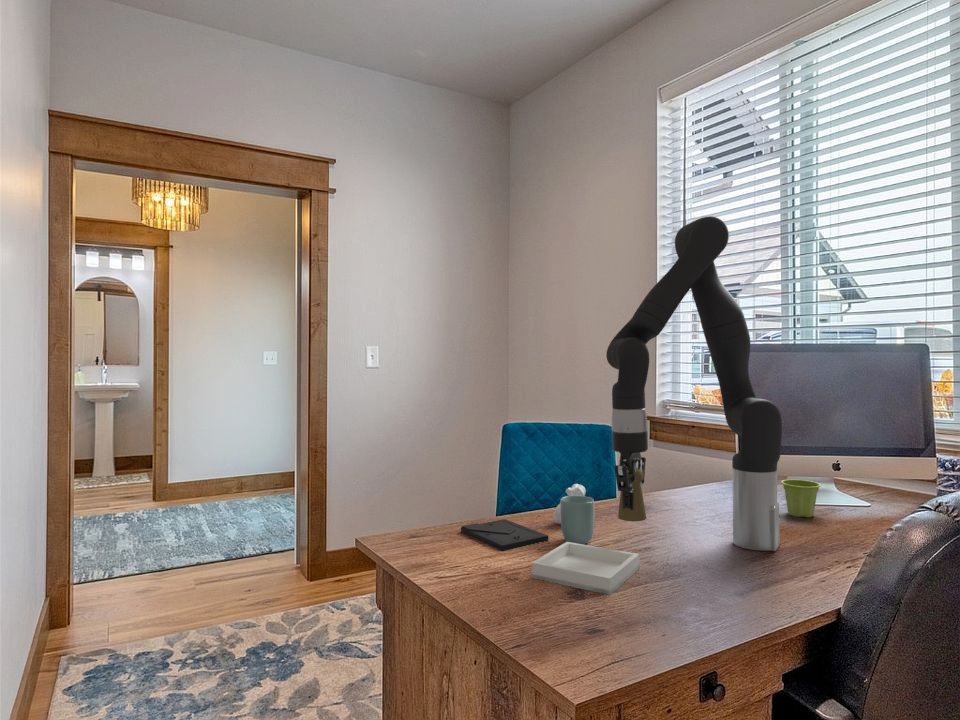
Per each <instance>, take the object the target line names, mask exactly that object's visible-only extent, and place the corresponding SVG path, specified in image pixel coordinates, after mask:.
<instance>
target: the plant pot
mask: <svg viewBox="0 0 960 720" xmlns="http://www.w3.org/2000/svg"><path fill="white" fill-rule="evenodd" d="M781 484H782V487H783V490H784V494H785V502H786V507H787V508H786V509H787V513H788V514H789V516H793V517H796V518H803V517H805V518H809V519H810V518H812V517H814V514H815V507H816V502H817V496H818V495H817V494H818V492H819V490H820V487H821V485H822V484H821V483H819V482H816V481H811V480H807V479H783V480H781Z"/></svg>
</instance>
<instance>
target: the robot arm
mask: <svg viewBox="0 0 960 720" xmlns="http://www.w3.org/2000/svg"><path fill="white" fill-rule="evenodd" d="M729 238H730V232H729V229H728V226H727V223H725V221H723V220H722V219H721V218H719V217H716V216H713V215H710V216H704V217H700V218H697V219H695V220H693V221H691V222H689V223H687V224H685V225H683V226H682V227H680V229H679V230H677V231H676V235H675V238H674V248H675V252H676V255H677V260H676V261H675V262H674V264H673V265H672V266H671V268H669V270H668V271H667V272H666V273H665V274H664V275H663V276H662V277H661V278H660V280H658V282H656V284H655V285H653V287H652V288H651V289H650V290H649V292H648V293H647V295H645V297H644V298H643V300H642V301H641V303H640V305H639V306H638V307H637V309H636V310H635V312H634V314H633V315H632V317H631V318H630V320H628V322H626V324H625V325H624V326H622V328H621V329H620V330H619V331H618V332H617V333H616V335H615V336H614V337H613V338H612V339H611V341H610V343H609V345H608V346H607V349H606V360H607V363H608V364H609V365H610V366H611V367H612V368H613V369H614V370H615V369H616V370H618V373H617V374H618V375H617V382H615V383H613V385H612V392H611V401H612V402H611V403H612V411H611V412H612V415H611V439H612V441H611V442H612V451H615V452H617V453H619V454H620V455H619V456H620V457H619V461H618V465H617V464H615V465H614V474H615V479H616V487H617V491H618V492H620V493H621V492H623V509H624V508H630V509H631V510H633V491H634V482H636V477H635V476H636V471H637V469H638V468H639V469H641V470H642V472H643V480H642V481H641V488H642V487H643V485H644V484H645V477H646V476H645V475H646V461H647V459H646V457H643V456H642V454H641V453H645V452H647V451H648V449H649V441H648V440H649V439H648V435H649V434H648V417H647V411H646V409H647V408H646V393H645V388H646V384H647V381H648V373H649V369H650V352H649V348H648V346H647V343H648V342H649V341H651V340H652V339H654V338H656V337H658V336H659V335H660V334H661V332H662V331H663V330H664V328H665V326H666V325H667V324H668V322H669V321H670V319H671V318H672V315H674V313H675V311H676V310H677V308H678V307H679V305H680V303H681V302H682V301H683V299H685V297H686V295H687V294H688V292H689V291H691V293H692V298H693V301H694V304H695V307H696V310H697V313H698V316H699V320H700V323H701V327H702V332H703V334H704V338H705V342H706V345H707V348H708V350H709V351H708V352H709V354H710V357H711V362H712V365H713V368H714V371H715V374H716V377H717V380H718V384H719V390H720V395H721V400H722V401H721V402H722V407H723V411H724V412H723V413H724V416H725V421H726V424H727V426H728V427H729V429H730V430H731V431H732V432H733V433H734V434H736V436H739V437H740V450H739V451H738V452H737V453H735V454H734V455H733V456H732V459H731V460H732V461H731V462H732V465H731V466H732V468H731V469H732V543H733V544H734V545H735V546H736V547H740V548H743V549H747V550H751V551H752V550H753V551H763V552H765V551H767V552H768V551H770V552H771V551H772V552H776V551H777V550H778V547H779V546H780V503H779V502H778V462H779V461H780V458H781V454H782V440H783V439H782V438H783V437H782V434H783V433H782V432H783V423H782V415H781V412H780V410H779V408H778V406H777V405H776V404H775V403H774V402H772V401H770V400H768V399H765V398H764V399H763V398H757V395H756V394H755V393H756V392H755V391H754V387H753V385H752V383H751V382H752V381H751V378H750V372H749V362H750V356H751V355H750V354H751V335H750V332H749V329H748V328H749V327H748V325H747V321H746V318H745V315H744V312H743V310H742V307H741V306H740V305H739V303H738V302H737V300H736V299H735V298H734V296H733V295H732V294H731V293H730V292H729V290H728V289H727V288H726V286H725V285H724V284H723V282H722V281H721V280H722V279H720V276H719V274H718V271H717V267H716V263H715V260H716V259H717V258H718V257H719V256H720V254H722V253H723V252H724V250H725V249H726V247H727V245H728V243H729ZM632 473H633V475H632V478H629V475H628V474H632ZM624 482H625V483H626V486H625V483H624Z"/></svg>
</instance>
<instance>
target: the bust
mask: <svg viewBox="0 0 960 720" xmlns="http://www.w3.org/2000/svg"><path fill="white" fill-rule="evenodd" d="M586 492H587V491H586V488H585V486H583V485H582V484H578V483H574V484H572V485H571V487H567V488H566V489H565V493H566V494H567V496H585V495H586ZM553 520H554V522H555V523H556V524H561V515H560V503H559V504H558V505H557V506H556V508H555V510H554V512H553Z"/></svg>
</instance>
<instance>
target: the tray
mask: <svg viewBox="0 0 960 720" xmlns="http://www.w3.org/2000/svg"><path fill="white" fill-rule="evenodd" d="M640 562H641V561H640V554H639V553H634V552H629V551H624V550H617V549H611V548H606V547H600V546H594V545H588V544H578V543H572V542H567V541H565V542H564V543H562V544H560V545H559V546H558V547H555V548H554V549H552V550H550V551H549V552H547V553H545V554H543V555H542V556H541V557H539V558H538V559H535V560H534V561H532V562H531V579H533V578H534V580H538V579H539V580H540V581H543V580H544V582H547V581H549V582H548V583H552V582H553V584H556V583H559V584H558V585H561V584H563V585H562V586H567V587H570V586H571V587H570V588H577V589H581V590H585V591H590V592H595V593H599V594H602V595H603V594H604V595H609V596H611V595H612V594H613V593H615V591H617V590H618V589H619V588H620V587H622V586H623V585H624V584H625V583H626V582H627V581H628V580H629V579H630V578H631V577H632V576H633V575H634V573H635V572H636V571H637V570H638V571H639V570H640ZM638 571H637V572H638ZM637 572H636V573H637ZM636 573H635V574H636ZM627 579H628V580H627ZM626 580H627V581H626ZM625 581H626V582H625ZM624 582H625V583H624Z"/></svg>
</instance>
